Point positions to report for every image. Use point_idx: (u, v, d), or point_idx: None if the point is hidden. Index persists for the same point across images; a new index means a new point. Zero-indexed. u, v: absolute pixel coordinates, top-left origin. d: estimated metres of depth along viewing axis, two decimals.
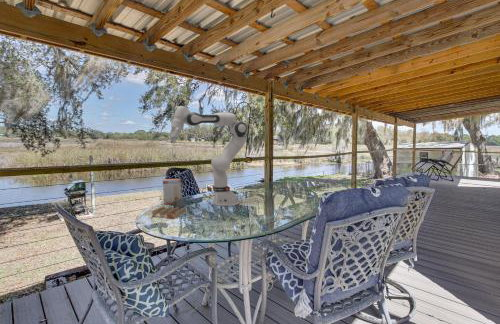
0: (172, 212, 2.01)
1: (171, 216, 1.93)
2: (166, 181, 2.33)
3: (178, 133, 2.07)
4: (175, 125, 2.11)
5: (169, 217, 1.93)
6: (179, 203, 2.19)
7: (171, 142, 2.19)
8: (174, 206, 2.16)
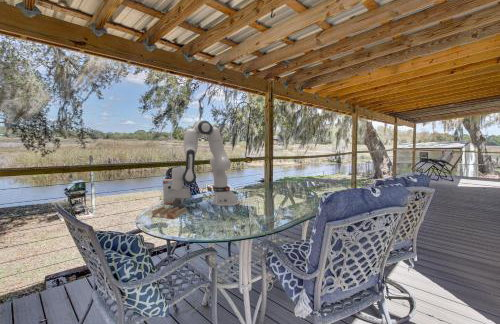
0: (172, 212, 2.01)
1: (171, 216, 1.93)
2: (166, 181, 2.33)
3: (190, 193, 2.18)
4: (180, 187, 2.17)
5: (169, 217, 1.93)
6: (179, 203, 2.19)
7: None
8: (174, 206, 2.16)
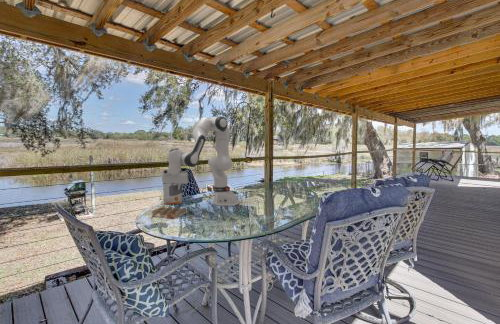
0: (172, 212, 2.01)
1: (171, 216, 1.93)
2: None
3: (187, 178, 2.02)
4: (177, 171, 2.01)
5: (169, 217, 1.93)
6: (175, 189, 2.03)
7: None
8: (170, 191, 2.00)
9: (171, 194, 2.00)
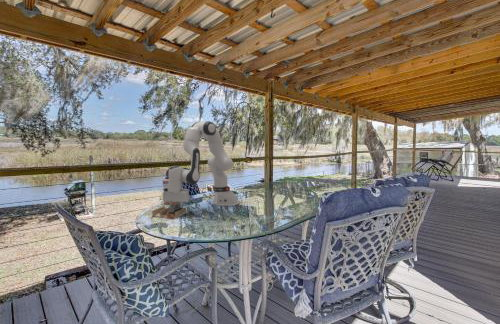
0: None
1: (171, 216, 1.93)
2: (166, 181, 2.33)
3: (188, 196, 1.98)
4: (178, 189, 1.97)
5: (169, 217, 1.93)
6: (176, 208, 1.99)
7: None
8: (171, 211, 1.96)
9: None
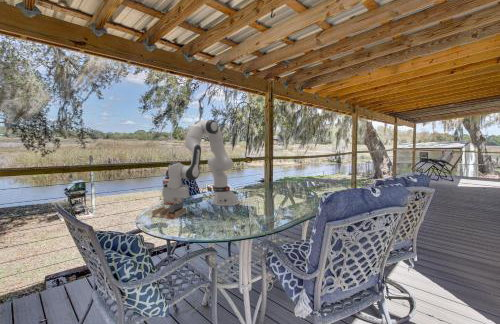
0: None
1: (171, 216, 1.93)
2: (166, 181, 2.33)
3: (188, 192, 1.98)
4: (178, 185, 1.97)
5: (169, 217, 1.93)
6: (176, 208, 1.99)
7: None
8: (171, 211, 1.96)
9: None
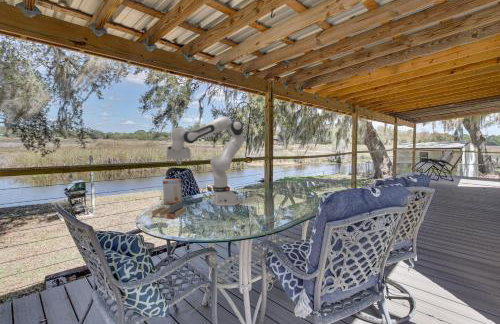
0: None
1: (171, 216, 1.93)
2: (166, 181, 2.33)
3: (189, 154, 2.24)
4: (181, 147, 2.22)
5: (169, 217, 1.93)
6: (176, 208, 1.99)
7: (178, 163, 2.26)
8: (171, 211, 1.96)
9: None
